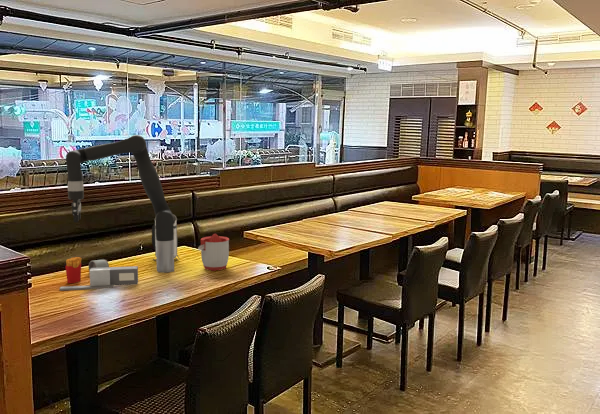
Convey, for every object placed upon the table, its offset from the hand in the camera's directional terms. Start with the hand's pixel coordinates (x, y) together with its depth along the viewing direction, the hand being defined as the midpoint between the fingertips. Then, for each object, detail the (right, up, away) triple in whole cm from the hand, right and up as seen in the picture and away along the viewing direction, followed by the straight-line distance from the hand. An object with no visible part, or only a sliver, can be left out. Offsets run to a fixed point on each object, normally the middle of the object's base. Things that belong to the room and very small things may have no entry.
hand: (77, 220), depth 277 cm
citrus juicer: (+67, -27, +21) cm, 75 cm away
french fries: (+2, -30, -8) cm, 32 cm away
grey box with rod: (+17, -31, -15) cm, 39 cm away
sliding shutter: (+19, -31, -18) cm, 40 cm away
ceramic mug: (+8, -28, +7) cm, 30 cm away
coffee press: (+35, -24, +39) cm, 58 cm away
